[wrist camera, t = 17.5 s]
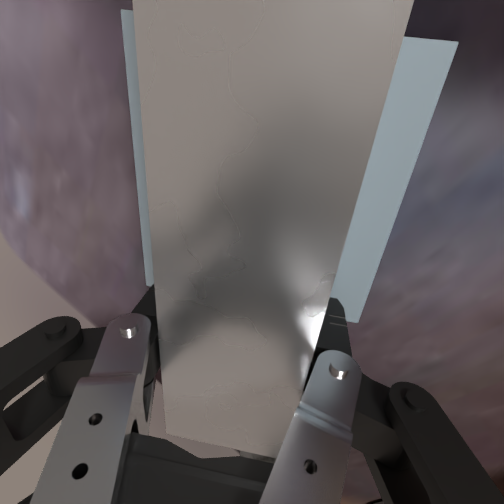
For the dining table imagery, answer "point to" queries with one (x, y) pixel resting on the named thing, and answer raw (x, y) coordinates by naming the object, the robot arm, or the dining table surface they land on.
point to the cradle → (378, 168)
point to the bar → (253, 192)
